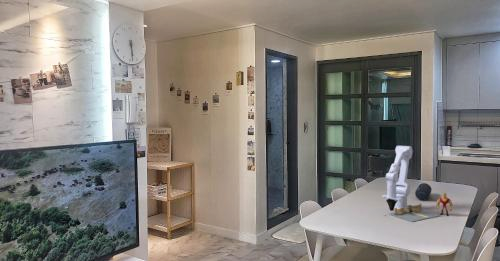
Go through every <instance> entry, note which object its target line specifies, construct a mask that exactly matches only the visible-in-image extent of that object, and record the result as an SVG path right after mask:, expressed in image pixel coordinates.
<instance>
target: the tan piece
mask: <svg viewBox="0 0 500 261" xmlns="http://www.w3.org/2000/svg"><path fill="white" fill-rule="evenodd" d="M408 212H409V207H408V206H407V207H404V208H398V209H397V208H394V210H393V213H394V215H397V214H402V213H408Z"/></svg>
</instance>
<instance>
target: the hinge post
mask: <svg viewBox="0 0 500 261" xmlns="http://www.w3.org/2000/svg"><path fill="white" fill-rule="evenodd" d="M412 206H413V205H412V204H407V207H409V212H410V213H412Z"/></svg>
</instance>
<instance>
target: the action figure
mask: <svg viewBox="0 0 500 261" xmlns="http://www.w3.org/2000/svg"><path fill="white" fill-rule="evenodd" d="M440 204H442V208H441V210H440ZM447 204H449V209H447ZM436 206H437V207H436V209H437V210H438V211H441V213H439V215H443V214H444V213H443V212H444V209H445V212H446V217H447V216H448V217H449V215H450V214H449V212H452V209H453V201H452V200H451V199H450V198H449V197H447V193H446V192H443V193H442V197H439V198H438V199H437V201H436Z"/></svg>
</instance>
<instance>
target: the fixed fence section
mask: <svg viewBox="0 0 500 261" xmlns="http://www.w3.org/2000/svg"><path fill="white" fill-rule="evenodd" d="M418 210H422V203H418V204H416V205H414V204H413V205H412V212H413V211H418Z"/></svg>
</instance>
